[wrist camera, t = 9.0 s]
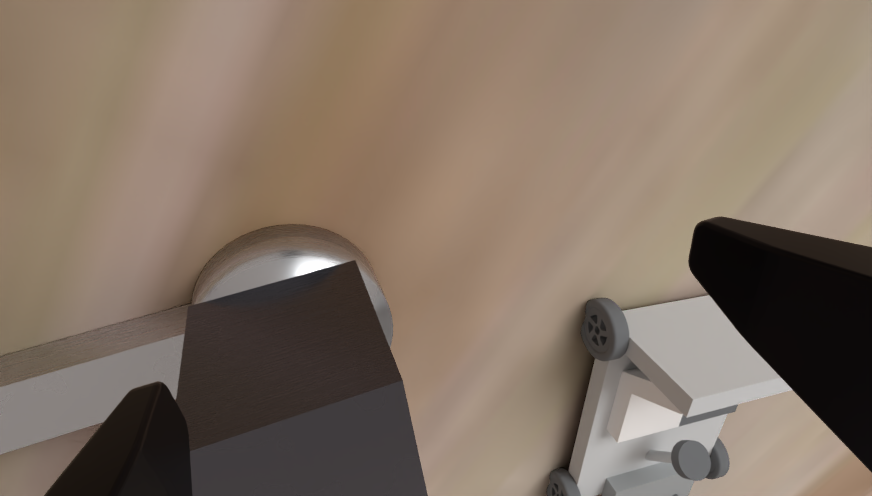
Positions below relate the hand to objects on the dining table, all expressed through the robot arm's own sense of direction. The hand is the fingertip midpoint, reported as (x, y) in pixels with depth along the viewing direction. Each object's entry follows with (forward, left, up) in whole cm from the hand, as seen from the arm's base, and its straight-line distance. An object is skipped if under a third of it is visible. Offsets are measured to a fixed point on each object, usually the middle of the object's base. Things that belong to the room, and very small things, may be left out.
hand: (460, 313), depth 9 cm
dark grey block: (+4, +7, -9) cm, 12 cm away
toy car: (-14, +21, -12) cm, 28 cm away
